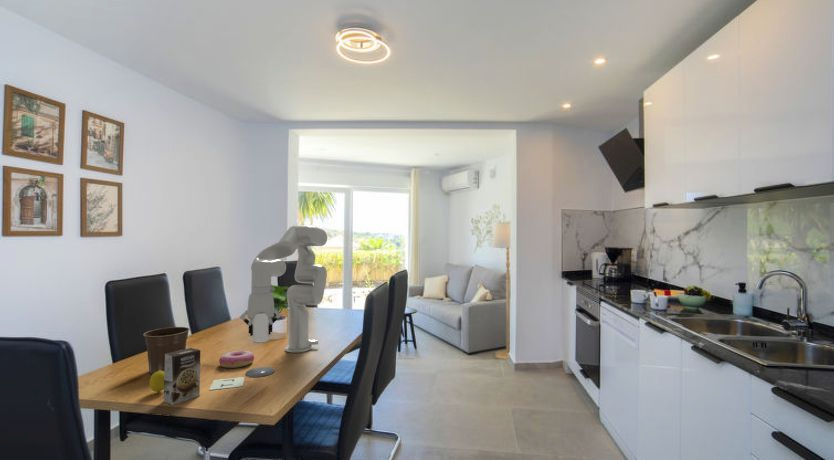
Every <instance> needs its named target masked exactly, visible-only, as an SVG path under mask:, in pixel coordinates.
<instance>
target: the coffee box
mask: <svg viewBox="0 0 834 460" xmlns="http://www.w3.org/2000/svg"><path fill="white" fill-rule="evenodd" d="M200 381H201V350H200V349H198V348H194V347H189V348H186V349H184V350H179V351H175V352H170V353H166V354H165V372H164V390H163V401H164V402H165V403H168V404H169V405H172V406H173V405H177V404H179V403H180V404H181V403H183V402H186V401H189V400H192V399H194V398H198V397H200V395H201V394H200V391H201V390H200V387H201V386H200V385H201V384H200V383H201V382H200Z"/></svg>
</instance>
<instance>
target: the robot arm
mask: <svg viewBox="0 0 834 460" xmlns="http://www.w3.org/2000/svg"><path fill="white" fill-rule="evenodd" d="M327 242H328V234H327V232H326V231H325V230H324V229H322V228H320V227H317V226H313V225H311V224H310V225H306V224H305V225H297V224H296V225H292V226H290V227H289V228H288V229H287V230H286V231H285V233H284V234H283V236H282V237H281V238H280V239H279V240H278V242H276V243H274V244H271V245H270V246H267V247H266V248H264V249H262V250H261V251H260V252H259V253H258V254H257V255H256V256H255V258H253V260H252V263H251V264H250V265H251V266H250V271H251V282H250V283H251V284H250V285H251V291H250V293H249V295H248V301H247V309H246V310H244V312H243V313H242V314H241V315H240V316H239V319H240V320H242V321H243V322H244V323H245V324H246V325H247V326H248V334H250V335H249V336H250V337H252V324H253V319H254V317H255V316H256V314H257V313H265V314H266V315H267V317H268V318H269V336H270V335H271V333H273V325H274V323H275V322H276V321H278V319H279V318H280V317H281V316H282V314H281V312H279V311H278V309H276V308H275V300H274V299H275V298H274V293H273V292H274V291H275V290H276V288H275V287H273V286H272V278H274V277H275V278H276V277H278V278H279V277H281V276H283V275H284V274H285V273H286V270H287V264H286V262H285V261H284V260H283V259H284V258H288V257H290V256H292V255H294V253H296V251H297V254H298V257H297V262H296V267H295V269H294V270H295V272H294V280H295V282H297V283H301V284H293V285H291V286H289V287H288V289H287V291H286V299H287V305H288V306H287V307H288V339H287V340H288V343H287V344H288V345H287V346H285V347H284V351H285V352H287V353H294V354H295V353H297V354H298V353H304V352H309V351H310V350H312V345H314V346H316V345H319V340H315V339H310V338H309V334H310V333H309V332H310V330H309V329H310V327H309V326H310V324H309V323H310V320H309V319H310V312H309V310H308V307H307V306H317V305H320V304H321V303H322V302H323V298H324V296H325V295H324V294H325V288H326V282H327V278H328V273H327V272H328V271H327V268H326V267H325V266H324V265H323V264H316V254H315V252H314V250H313V249H312V248H311V247H323V246H325V245H326V244H327ZM274 315H275V317H274ZM246 317H247V318H246Z"/></svg>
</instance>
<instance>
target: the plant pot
mask: <svg viewBox="0 0 834 460" xmlns="http://www.w3.org/2000/svg"><path fill="white" fill-rule="evenodd" d="M190 330H191V329H190V328H189V327H185V326H171V327H170V326H169V327H163V328H162V327H161V328H156V329H153V330H148V331H146V332H144V333H143V334H142V335H143V337H144V340H145V341H144V342H145V345H146V351H147V360H148V362H147V363H148V371H149V374H151V375H153V374H154V373H155V372H157V371H158V370H161V371H164V372H165V354H166V353H170V352H175V351H179V350H184V349H187V340H188V337H189V331H190Z"/></svg>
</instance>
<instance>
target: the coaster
mask: <svg viewBox="0 0 834 460" xmlns="http://www.w3.org/2000/svg"><path fill="white" fill-rule="evenodd" d="M275 371H276V370H275V368H273V367H271V366H261V367H260V366H259V367H255V368H251V369H248V370H247V371H246V372H245V375H246V376H247V377H248V376H249V377H248V378H262V376H264V377H267V375H268V376H270V375H273V374H274V373H275ZM246 376H245V377H246Z"/></svg>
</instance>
